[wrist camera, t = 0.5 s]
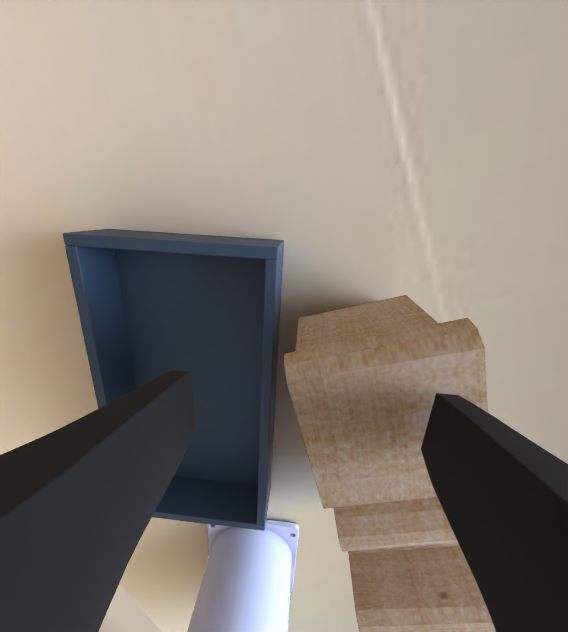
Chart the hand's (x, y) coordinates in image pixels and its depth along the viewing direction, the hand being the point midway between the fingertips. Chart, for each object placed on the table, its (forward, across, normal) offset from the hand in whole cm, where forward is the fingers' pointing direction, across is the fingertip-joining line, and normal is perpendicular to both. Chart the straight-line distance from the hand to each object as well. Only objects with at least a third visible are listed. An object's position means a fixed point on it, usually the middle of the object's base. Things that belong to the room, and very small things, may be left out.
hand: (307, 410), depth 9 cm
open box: (+10, +7, +6) cm, 14 cm away
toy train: (+10, -4, +6) cm, 13 cm away
